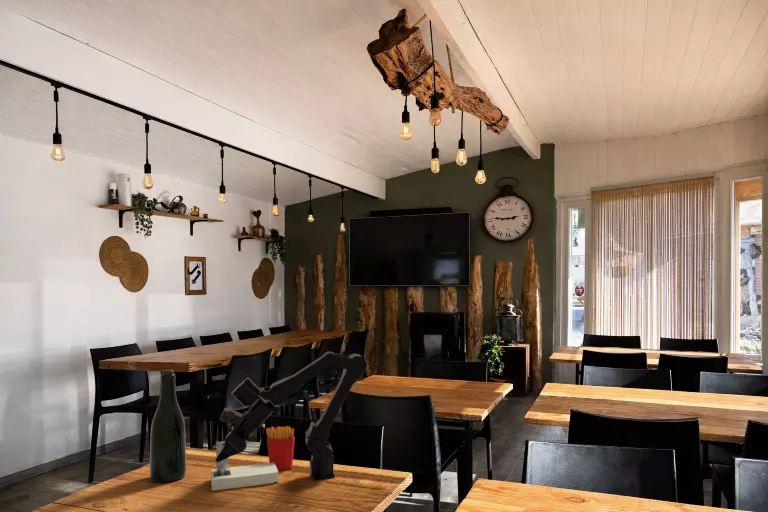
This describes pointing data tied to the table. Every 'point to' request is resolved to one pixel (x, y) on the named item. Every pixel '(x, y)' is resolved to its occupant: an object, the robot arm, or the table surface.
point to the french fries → (280, 446)
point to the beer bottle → (167, 435)
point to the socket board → (245, 476)
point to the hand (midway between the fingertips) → (218, 456)
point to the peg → (222, 465)
